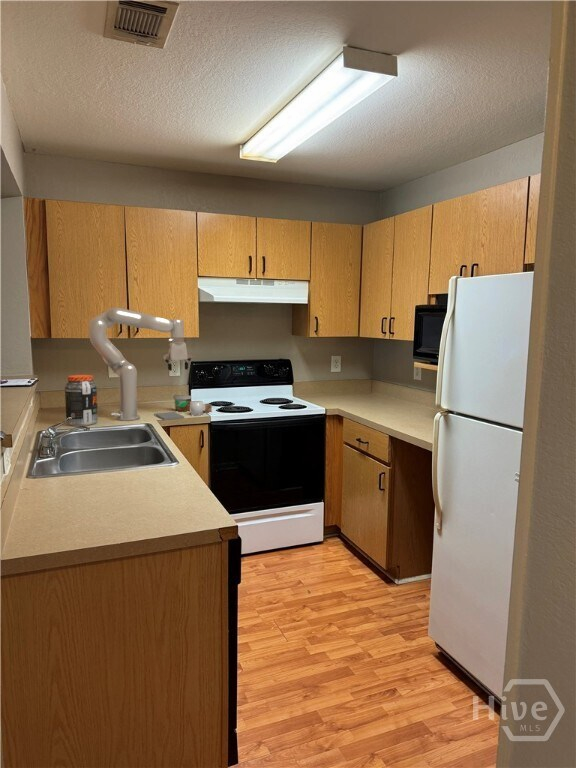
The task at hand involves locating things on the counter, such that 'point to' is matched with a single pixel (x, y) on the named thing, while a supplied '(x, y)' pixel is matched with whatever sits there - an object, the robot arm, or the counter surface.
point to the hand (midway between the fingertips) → (178, 369)
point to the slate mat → (169, 415)
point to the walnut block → (208, 408)
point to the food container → (182, 403)
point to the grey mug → (197, 408)
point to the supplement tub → (81, 400)
